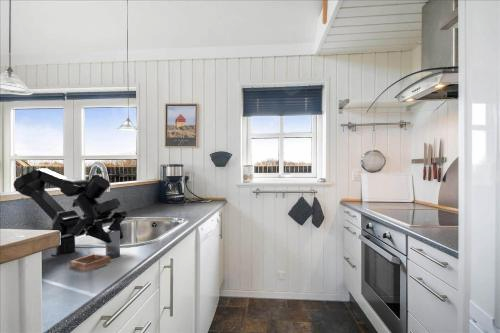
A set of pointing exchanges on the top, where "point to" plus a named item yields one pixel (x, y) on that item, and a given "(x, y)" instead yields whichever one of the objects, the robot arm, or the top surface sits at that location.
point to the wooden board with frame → (98, 262)
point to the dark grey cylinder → (113, 244)
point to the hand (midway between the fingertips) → (116, 240)
